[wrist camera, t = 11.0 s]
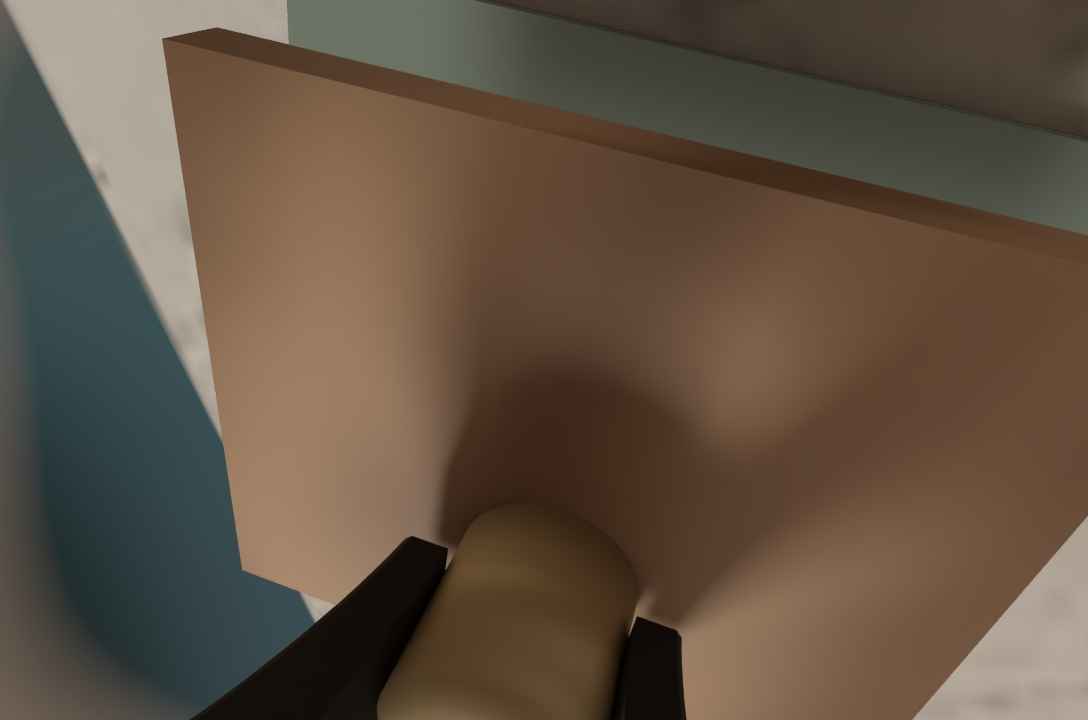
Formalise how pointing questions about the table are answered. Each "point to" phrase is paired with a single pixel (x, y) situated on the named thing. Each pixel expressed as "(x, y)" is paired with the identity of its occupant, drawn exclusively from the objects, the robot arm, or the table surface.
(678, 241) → the lid
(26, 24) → the table surface
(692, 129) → the mat
